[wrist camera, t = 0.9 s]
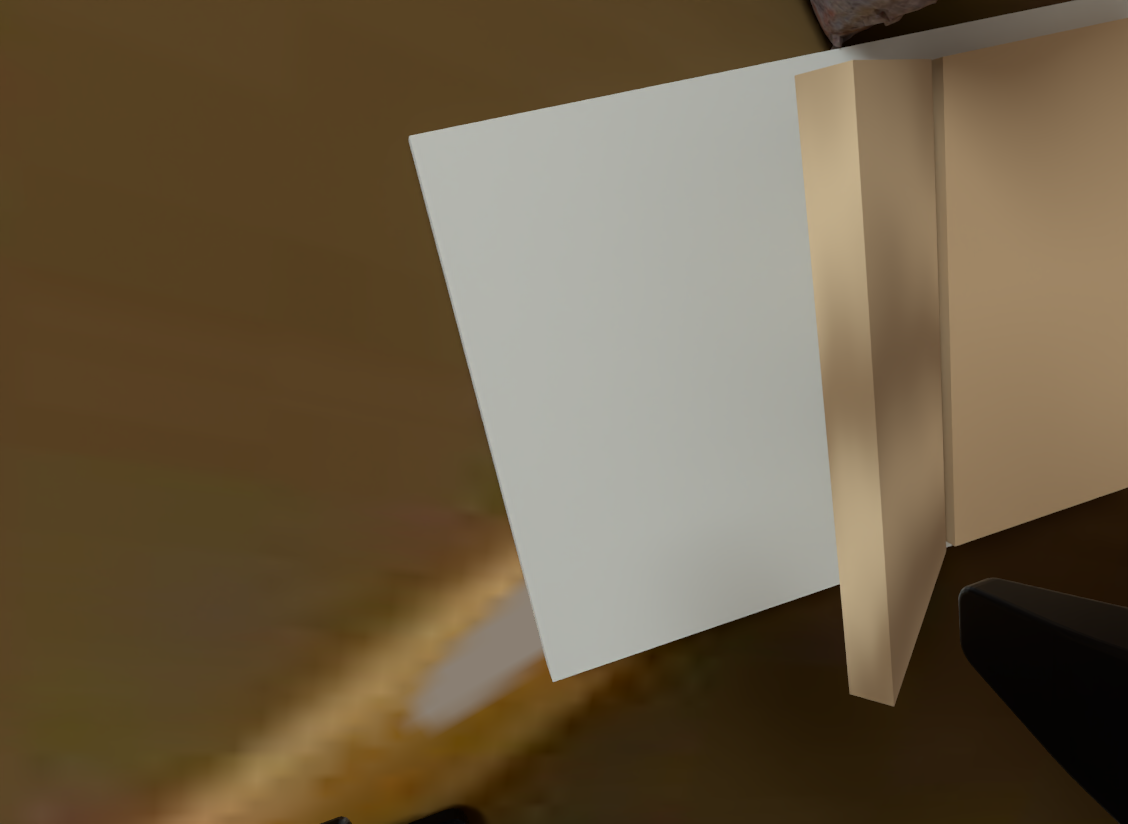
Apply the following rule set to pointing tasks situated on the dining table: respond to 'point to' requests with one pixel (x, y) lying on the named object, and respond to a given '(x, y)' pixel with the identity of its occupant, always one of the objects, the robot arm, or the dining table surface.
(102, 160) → the dining table surface
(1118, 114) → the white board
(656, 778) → the dining table surface
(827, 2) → the food item
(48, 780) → the dining table surface
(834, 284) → the click plank
